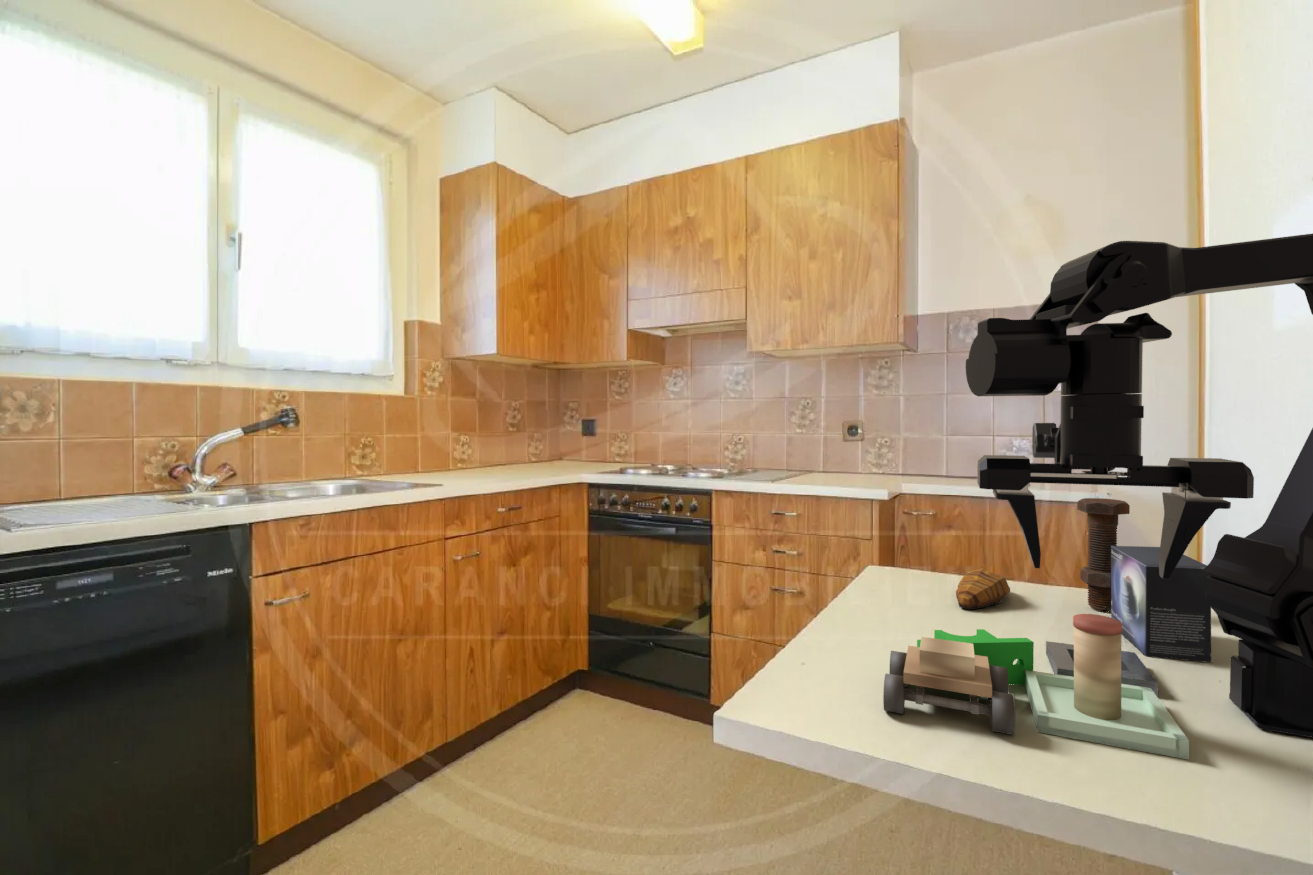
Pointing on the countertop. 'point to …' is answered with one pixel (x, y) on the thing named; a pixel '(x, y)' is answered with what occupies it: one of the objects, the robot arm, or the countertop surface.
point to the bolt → (1100, 547)
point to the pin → (1097, 666)
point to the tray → (1136, 729)
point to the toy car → (950, 681)
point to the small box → (1161, 604)
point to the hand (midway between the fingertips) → (1097, 572)
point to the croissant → (981, 589)
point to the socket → (1130, 665)
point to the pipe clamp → (998, 651)
